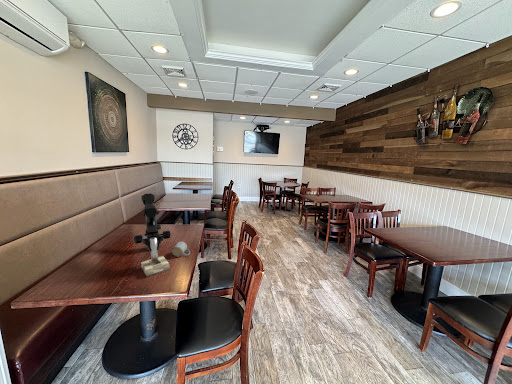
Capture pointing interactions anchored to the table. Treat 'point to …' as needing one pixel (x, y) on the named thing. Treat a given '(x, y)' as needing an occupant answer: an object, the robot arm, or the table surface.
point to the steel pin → (154, 249)
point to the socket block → (155, 266)
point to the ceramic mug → (180, 249)
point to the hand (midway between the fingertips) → (154, 250)
